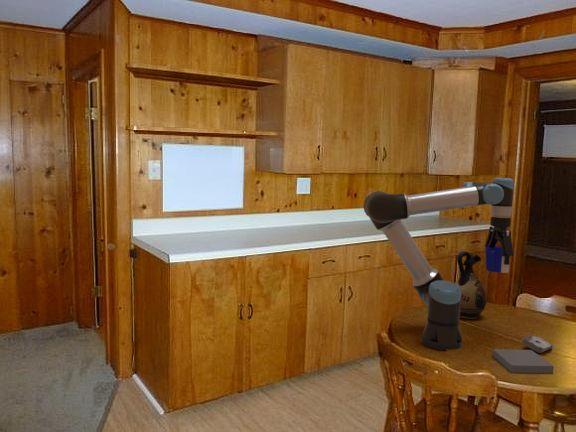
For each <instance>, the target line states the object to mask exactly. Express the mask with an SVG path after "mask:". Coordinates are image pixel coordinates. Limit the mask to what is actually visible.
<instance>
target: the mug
mask: <svg viewBox="0 0 576 432" xmlns="http://www.w3.org/2000/svg"><path fill="white" fill-rule="evenodd" d="M502 254H503V252H502V248H501V245H500V246H499V245H495V247H494V248H493V247H489V246H486V247H485V269H486V271H488V272H491V273H501V264H502Z"/></svg>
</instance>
